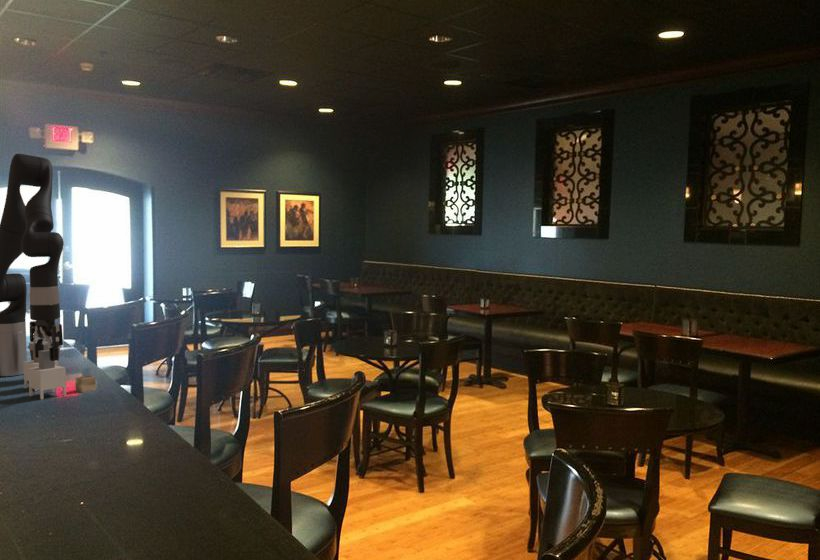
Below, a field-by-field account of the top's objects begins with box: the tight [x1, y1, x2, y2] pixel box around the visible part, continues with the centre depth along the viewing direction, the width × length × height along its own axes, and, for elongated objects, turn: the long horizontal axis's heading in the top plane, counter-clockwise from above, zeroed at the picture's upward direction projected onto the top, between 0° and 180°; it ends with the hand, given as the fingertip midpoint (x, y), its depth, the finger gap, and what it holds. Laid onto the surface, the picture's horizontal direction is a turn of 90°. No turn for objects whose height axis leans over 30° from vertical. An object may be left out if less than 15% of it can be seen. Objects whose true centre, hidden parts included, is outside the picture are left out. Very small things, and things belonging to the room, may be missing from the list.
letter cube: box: [74, 374, 97, 393], centre depth 204 cm, size 4×4×4 cm
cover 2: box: [28, 349, 67, 401], centre depth 197 cm, size 7×7×13 cm
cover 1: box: [23, 344, 60, 392], centre depth 207 cm, size 7×7×13 cm
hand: (46, 358), depth 196 cm, fingers open, 8 cm apart
